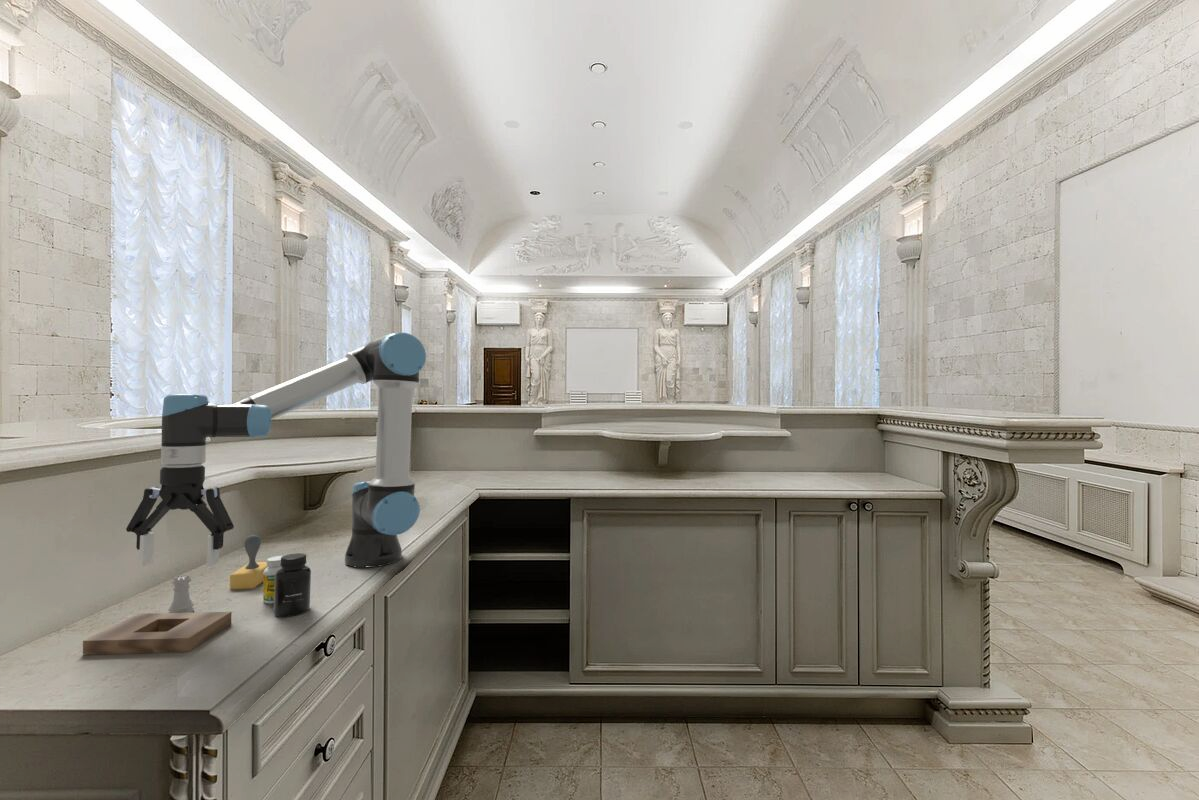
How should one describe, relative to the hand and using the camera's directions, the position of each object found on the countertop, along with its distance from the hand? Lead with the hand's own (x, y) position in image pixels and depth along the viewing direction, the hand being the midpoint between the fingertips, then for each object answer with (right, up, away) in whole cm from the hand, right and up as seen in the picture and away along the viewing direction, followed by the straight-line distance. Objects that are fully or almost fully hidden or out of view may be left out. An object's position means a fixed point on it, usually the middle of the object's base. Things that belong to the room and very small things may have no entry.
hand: (179, 564), depth 110 cm
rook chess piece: (0, -11, 0) cm, 11 cm away
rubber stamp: (+2, -11, +20) cm, 23 cm away
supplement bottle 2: (+23, -11, +2) cm, 26 cm away
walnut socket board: (+6, -10, -12) cm, 17 cm away
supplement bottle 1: (+16, -11, +8) cm, 21 cm away
